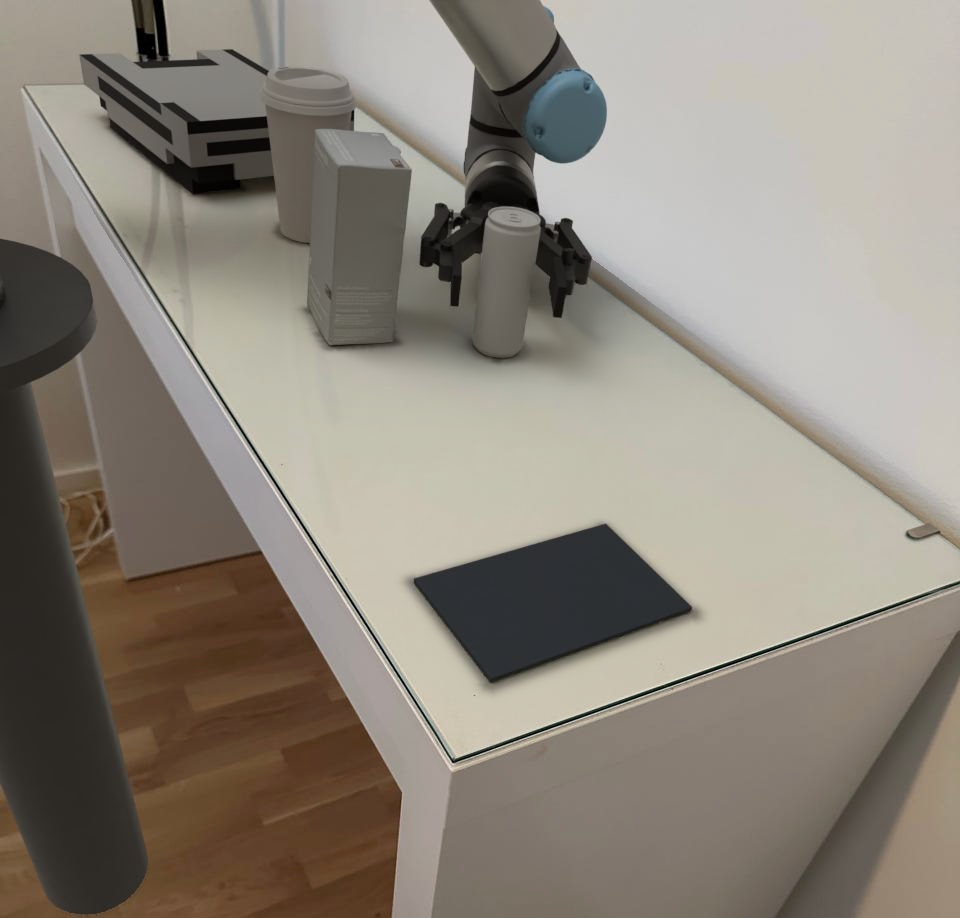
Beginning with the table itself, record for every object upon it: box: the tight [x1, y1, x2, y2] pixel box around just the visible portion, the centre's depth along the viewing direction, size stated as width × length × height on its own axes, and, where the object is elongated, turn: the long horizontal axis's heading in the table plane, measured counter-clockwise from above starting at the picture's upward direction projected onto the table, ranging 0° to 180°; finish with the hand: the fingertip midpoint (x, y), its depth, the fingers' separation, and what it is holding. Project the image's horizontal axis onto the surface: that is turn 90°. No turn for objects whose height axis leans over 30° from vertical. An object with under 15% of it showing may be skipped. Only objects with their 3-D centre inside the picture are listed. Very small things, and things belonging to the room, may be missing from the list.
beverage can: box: [471, 207, 541, 359], centre depth 82 cm, size 5×5×12 cm
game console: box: [78, 48, 355, 195], centre depth 114 cm, size 21×32×8 cm, turn 37°
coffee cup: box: [260, 65, 357, 244], centre depth 96 cm, size 10×10×15 cm
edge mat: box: [413, 523, 693, 684], centre depth 61 cm, size 10×16×1 cm, turn 121°
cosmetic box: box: [306, 129, 413, 346], centre depth 81 cm, size 8×7×16 cm
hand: (508, 296), depth 78 cm, fingers open, 8 cm apart
